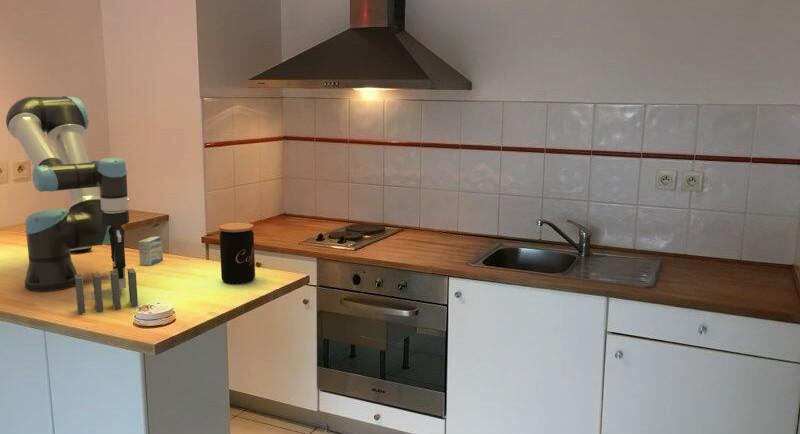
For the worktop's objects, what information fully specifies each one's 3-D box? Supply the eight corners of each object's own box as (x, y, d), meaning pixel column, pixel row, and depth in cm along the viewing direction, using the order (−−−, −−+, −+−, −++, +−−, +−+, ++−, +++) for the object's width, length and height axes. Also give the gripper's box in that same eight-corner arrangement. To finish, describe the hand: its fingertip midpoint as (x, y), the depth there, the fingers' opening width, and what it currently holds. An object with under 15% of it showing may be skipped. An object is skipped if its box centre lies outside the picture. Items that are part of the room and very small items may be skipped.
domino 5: (132, 307, 197) (129, 273, 196) (129, 302, 202) (127, 268, 200) (138, 306, 198) (135, 272, 196) (135, 301, 203) (133, 268, 201)
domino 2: (97, 311, 193) (94, 277, 191) (95, 306, 197) (92, 272, 196) (103, 311, 194) (100, 276, 192) (101, 306, 198) (98, 272, 196)
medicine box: (151, 265, 241) (149, 241, 240) (139, 265, 242) (137, 241, 240) (163, 260, 249) (161, 236, 247) (151, 259, 250) (150, 236, 248)
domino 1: (79, 314, 191) (75, 279, 189) (77, 309, 195) (74, 274, 193) (85, 313, 192) (82, 278, 190) (83, 308, 196) (80, 274, 194)
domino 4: (114, 309, 195) (112, 275, 193) (112, 304, 200) (110, 270, 198) (120, 308, 196) (118, 274, 194) (118, 303, 200) (116, 270, 198)
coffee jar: (238, 287, 217) (236, 230, 214) (214, 281, 223) (211, 226, 219) (262, 279, 226) (260, 224, 222) (238, 274, 231) (236, 221, 228)
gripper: (132, 215, 201) (137, 292, 205) (124, 204, 216) (128, 276, 221) (104, 217, 197) (110, 296, 202) (98, 206, 212) (103, 279, 217)
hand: (119, 285), depth 211 cm, fingers closed on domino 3, 5 cm apart
